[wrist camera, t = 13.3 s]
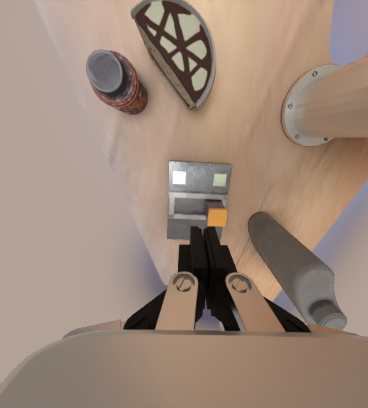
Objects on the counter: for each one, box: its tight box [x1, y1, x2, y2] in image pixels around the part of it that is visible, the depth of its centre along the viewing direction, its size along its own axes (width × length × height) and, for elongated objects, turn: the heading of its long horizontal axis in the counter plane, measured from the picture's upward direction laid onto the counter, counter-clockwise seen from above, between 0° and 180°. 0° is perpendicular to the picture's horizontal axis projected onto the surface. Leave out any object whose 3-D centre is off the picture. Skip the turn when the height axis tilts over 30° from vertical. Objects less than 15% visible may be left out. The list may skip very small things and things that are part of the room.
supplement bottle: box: [86, 50, 147, 114], centre depth 24 cm, size 6×6×11 cm
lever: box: [204, 199, 228, 227], centre depth 32 cm, size 3×3×6 cm
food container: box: [130, 0, 216, 110], centre depth 24 cm, size 12×6×10 cm, turn 40°
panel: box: [167, 160, 232, 241], centre depth 35 cm, size 12×17×3 cm
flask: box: [248, 212, 347, 330], centre depth 31 cm, size 15×6×20 cm, turn 29°
